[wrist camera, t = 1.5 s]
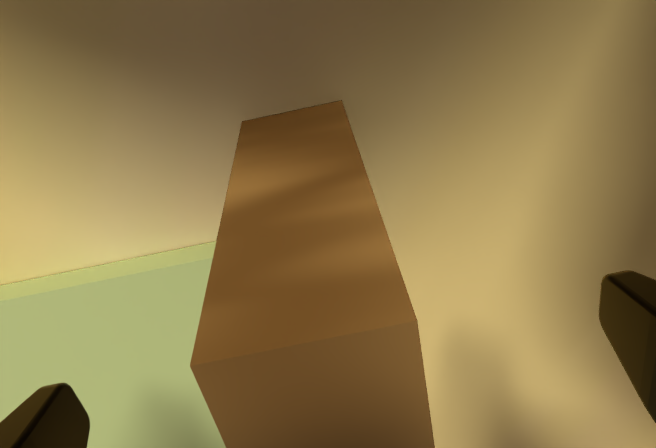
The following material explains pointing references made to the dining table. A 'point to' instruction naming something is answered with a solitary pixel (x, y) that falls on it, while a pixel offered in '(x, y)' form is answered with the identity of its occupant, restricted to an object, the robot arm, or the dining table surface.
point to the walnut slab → (308, 299)
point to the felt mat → (114, 347)
